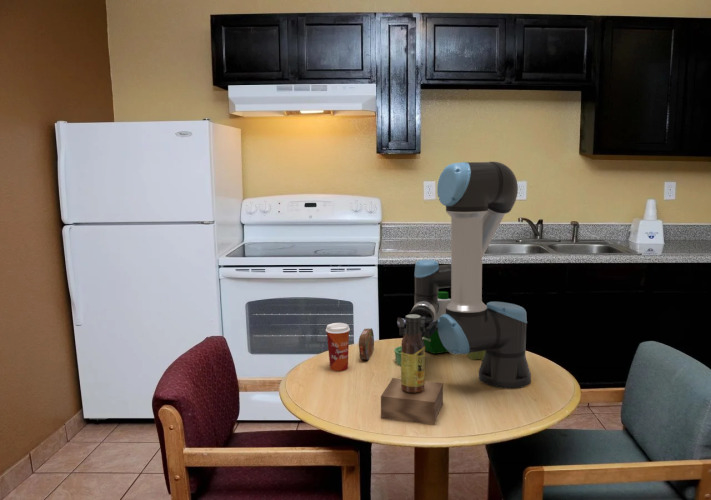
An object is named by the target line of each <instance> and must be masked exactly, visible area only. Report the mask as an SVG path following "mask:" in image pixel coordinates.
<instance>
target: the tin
mask: <svg viewBox="0 0 711 500" xmlns="http://www.w3.org/2000/svg"><path fill="white" fill-rule="evenodd" d="M374 347H375V337H374V330H373V328H364V329H363V330H362V332H361V333H360V335H359V338H358V349H359V359H360V360H367V361H369V360H370V358H371V357H372V354H373V353H374Z"/></svg>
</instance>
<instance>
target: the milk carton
mask: <svg viewBox="0 0 711 500" xmlns="http://www.w3.org/2000/svg"><path fill="white" fill-rule="evenodd" d="M450 301H451V297H449V291H443V290H440V291H439V290H438V302H439V310H438V313H437V314H436V316H435V319H434V321H436V320H439V317H440V316H442V315H443V314H446V305H447V304H448V303H449V302H450ZM423 341H424V344H425V352H426V351H427V352H429V353H431V354H433V355H434V354H440V353H450V352H449V351H447V350H446V348H445V347H444V346H443V344H442V342H441V340H440V337H439V334H438V330H436V331H435V332H434V333H433V334H432V335H431V336H430V337H429V338H427V337H426V336H423Z"/></svg>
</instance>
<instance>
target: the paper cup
mask: <svg viewBox="0 0 711 500" xmlns="http://www.w3.org/2000/svg"><path fill="white" fill-rule="evenodd" d="M350 331H351V329H350V326H349V324H347V323H346V322H345V323H344V322H334V323H333V322H332V323H329V324H327V325H326V329H325V332H326V339H327V340H326V341H327V350H328V359H329V367H330V370H331V371H332V372H333V371H334V372H344V371H346V370H348V368H349V347H350V346H349V345H350V343H349V342H350Z"/></svg>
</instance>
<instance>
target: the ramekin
mask: <svg viewBox="0 0 711 500" xmlns="http://www.w3.org/2000/svg"><path fill="white" fill-rule="evenodd" d="M401 350H402V345H400V346H396V347H395V348H394V350H393V351H394V357H395V363H396V364H397V365H399V366H401Z"/></svg>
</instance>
